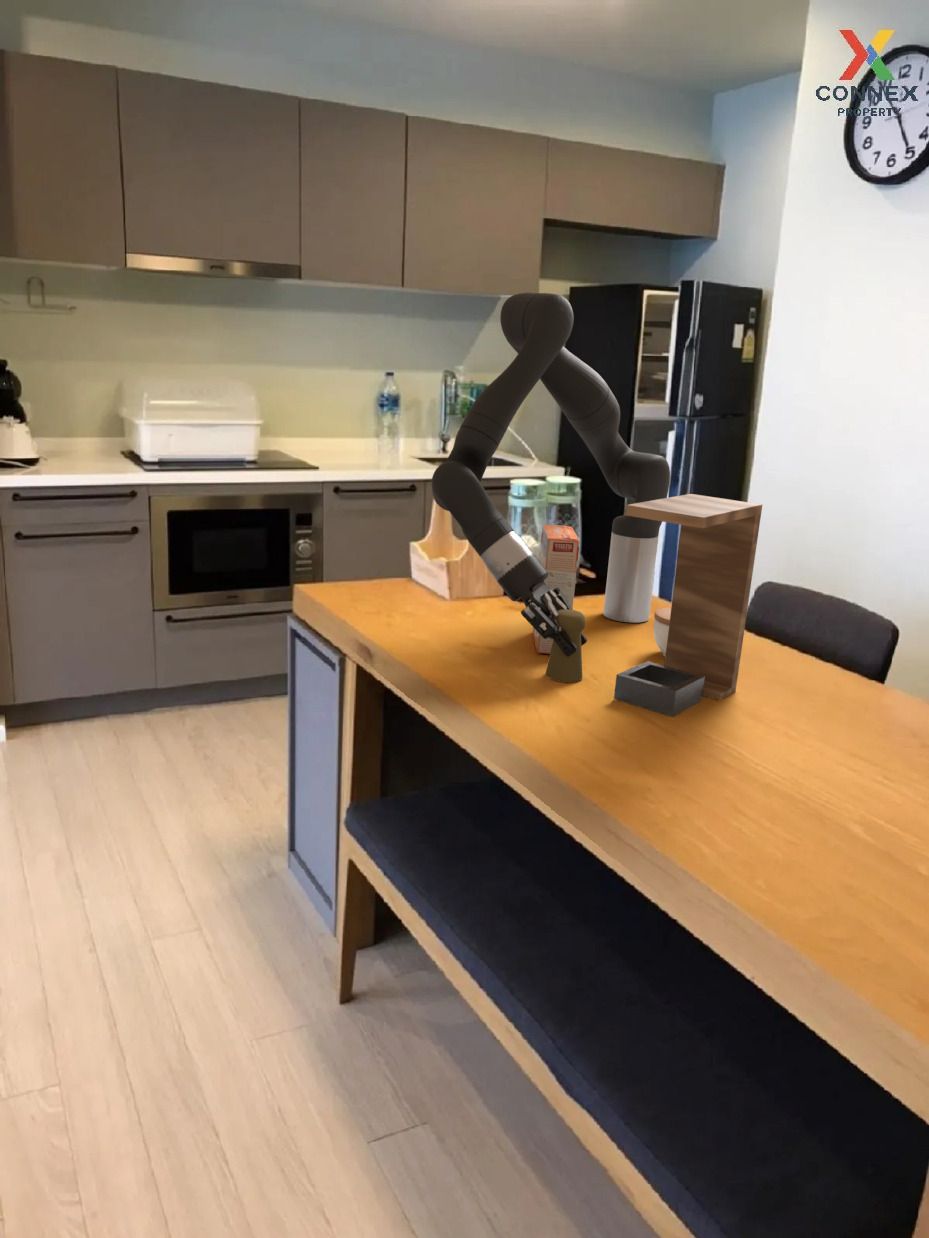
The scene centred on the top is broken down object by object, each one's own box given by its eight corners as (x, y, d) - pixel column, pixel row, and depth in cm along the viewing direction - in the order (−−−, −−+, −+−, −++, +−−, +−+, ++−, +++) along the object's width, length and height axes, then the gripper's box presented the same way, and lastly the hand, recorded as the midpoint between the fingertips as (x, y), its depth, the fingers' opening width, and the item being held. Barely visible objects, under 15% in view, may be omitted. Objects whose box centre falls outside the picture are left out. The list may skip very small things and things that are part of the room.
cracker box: (570, 656, 170) (581, 539, 164) (535, 654, 170) (545, 537, 164) (563, 634, 184) (573, 525, 178) (531, 632, 184) (541, 522, 178)
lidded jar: (645, 660, 171) (651, 608, 168) (654, 644, 181) (660, 595, 178) (707, 669, 168) (714, 617, 165) (713, 653, 178) (719, 603, 175)
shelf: (668, 673, 164) (690, 493, 156) (735, 691, 158) (762, 504, 149) (605, 703, 148) (626, 504, 140) (677, 724, 141) (703, 517, 133)
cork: (580, 683, 156) (587, 618, 153) (543, 679, 157) (549, 613, 154) (584, 672, 161) (590, 608, 158) (547, 667, 163) (553, 604, 160)
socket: (644, 684, 158) (647, 661, 157) (701, 700, 152) (704, 676, 151) (613, 699, 150) (616, 674, 149) (672, 716, 144) (675, 691, 143)
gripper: (515, 560, 150) (582, 647, 149) (545, 545, 163) (607, 625, 162) (481, 588, 154) (547, 674, 152) (513, 571, 166) (573, 650, 165)
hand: (577, 648), depth 157 cm, fingers closed on cork, 5 cm apart
